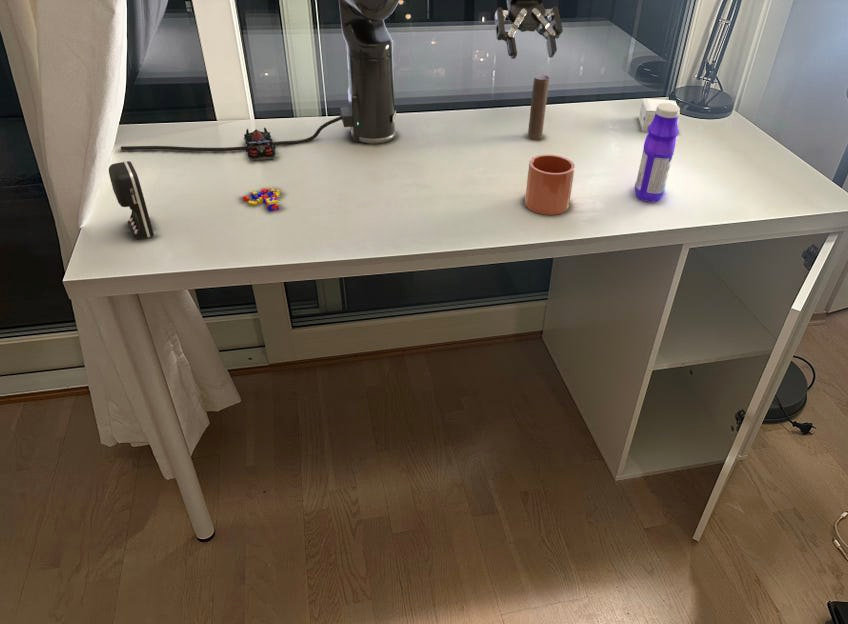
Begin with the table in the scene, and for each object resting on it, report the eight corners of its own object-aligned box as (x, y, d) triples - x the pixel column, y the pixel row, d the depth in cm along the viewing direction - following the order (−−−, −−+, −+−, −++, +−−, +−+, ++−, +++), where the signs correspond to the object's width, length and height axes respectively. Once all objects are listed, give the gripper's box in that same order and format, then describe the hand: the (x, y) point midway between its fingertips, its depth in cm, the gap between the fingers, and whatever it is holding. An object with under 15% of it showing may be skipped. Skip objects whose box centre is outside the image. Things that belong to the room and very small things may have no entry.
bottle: (663, 205, 134) (685, 115, 123) (632, 201, 134) (652, 111, 123) (662, 188, 139) (684, 101, 128) (633, 185, 140) (652, 97, 129)
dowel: (530, 140, 154) (536, 80, 146) (525, 134, 157) (531, 74, 148) (544, 139, 155) (551, 79, 147) (539, 133, 157) (546, 74, 149)
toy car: (247, 162, 140) (243, 142, 137) (242, 138, 149) (239, 119, 146) (278, 159, 142) (275, 140, 139) (271, 135, 150) (269, 116, 147)
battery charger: (123, 223, 120) (103, 160, 113) (146, 219, 122) (128, 156, 114) (131, 243, 116) (111, 178, 108) (155, 237, 117) (137, 174, 110)
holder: (533, 216, 128) (538, 176, 123) (519, 195, 134) (523, 156, 129) (575, 213, 130) (581, 172, 125) (559, 192, 136) (564, 153, 131)
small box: (637, 119, 167) (642, 97, 164) (671, 121, 167) (676, 100, 164) (641, 132, 161) (646, 110, 158) (675, 135, 161) (681, 112, 158)
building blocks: (274, 188, 132) (273, 180, 131) (290, 206, 127) (289, 198, 126) (240, 195, 129) (239, 187, 128) (255, 214, 124) (254, 206, 123)
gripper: (494, -27, 146) (506, 48, 145) (558, -28, 149) (570, 46, 148) (485, -6, 153) (497, 66, 152) (547, -7, 157) (558, 64, 156)
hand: (533, 56), depth 150 cm, fingers open, 8 cm apart
